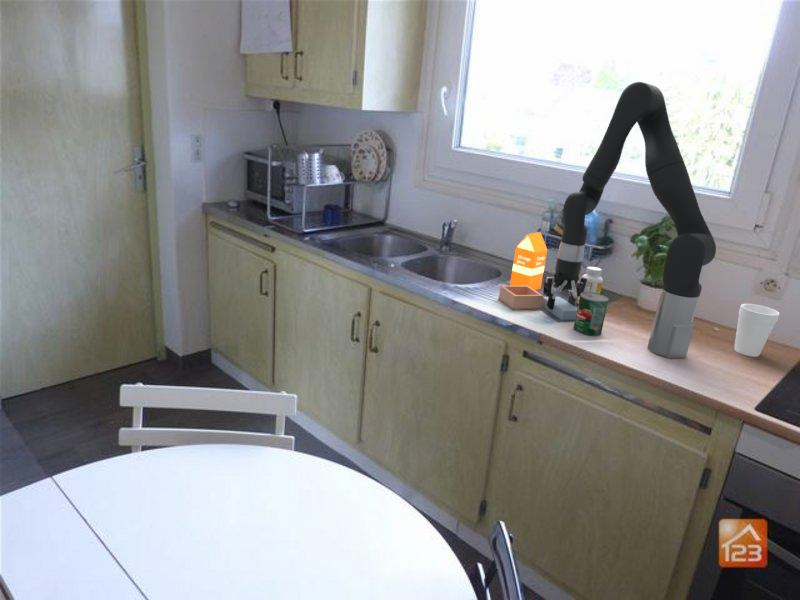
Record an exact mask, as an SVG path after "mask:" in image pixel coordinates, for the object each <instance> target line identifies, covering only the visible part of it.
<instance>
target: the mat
mask: <svg viewBox="0 0 800 600" xmlns="http://www.w3.org/2000/svg"><path fill="white" fill-rule="evenodd" d="M539 310H540V311H541V312H542V313H544V314H545V315H547V316H549V318H551V319H553V320H554V321H555V322H557V323H575V320H561V319H559V318H558V317H557V316H555V315H554V314H552V313H551V312H549V311H548V310H546V309H545V308H543V307H542V306H541V309H539Z"/></svg>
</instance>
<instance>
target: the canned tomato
mask: <svg viewBox="0 0 800 600" xmlns="http://www.w3.org/2000/svg"><path fill="white" fill-rule="evenodd" d="M609 300H610V299H609V298H608V296H606V295H604V294H601V293H600V294H598V293H593V292H582V293H581V294H580V299H579V304H578V303H577V304H578V305H577V308H578V309H577V314H576V319H575V322H574V325H573V330H574V331H575V332H576V333H578V334H581V335H585V336H588V337H589V336H590V337H599V336H601V334H602V331H603V328H604V327H603V326H604V322H605V319H606V318H605V317H606V313H607V308H608V303H609Z"/></svg>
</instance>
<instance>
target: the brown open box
mask: <svg viewBox="0 0 800 600" xmlns="http://www.w3.org/2000/svg"><path fill="white" fill-rule="evenodd" d="M499 287H500V288H499V294H498V300H499V301H500V302H502V303H503V304H504V305H505V306H507V307H508V308H509V309H510V310H512V311H526V310H527V311H528V310H529V311H530V310H539V309H541V305H542V300H543V297H544V294H541V293H540V292H538V290H534V289H532V288H531V287H529V286H510V285H500V286H499Z"/></svg>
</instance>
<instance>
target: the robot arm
mask: <svg viewBox="0 0 800 600" xmlns="http://www.w3.org/2000/svg"><path fill="white" fill-rule="evenodd" d="M665 101H666V100H665V97H664V94H663V92H662V91H661V89H660V88H658V86H656V85H654V84H649V83H647V82H645V81H644V82H643V81H636V82H632V83H630V84H629V85H627V86H626V87H625V88H624V90H623V91H622V92H621V94H620V96H619V98H618V101H617V104H616V105H615V108H614V110H613V114H612V116H611V119H610V122H609V123H608V127H607V129H606V130H605V133H604V135H603V138H602V140H601V143H600V144H599V146H598V148H597V149H596V152H595V153H594V156H593V158H592V159H591V160H590V162H589V164H588V166H587V168H586V169H585V172H584V173H583V175H582V182H583V183H582V185H581V187H580V189H579V191H576V192H571V194H569V195H568V196H567V197H566V199H565V201H564V204H563V211H562V215H563V219H562V220H563V230H562V233H561V240H560V244H559V247H558V250H557V251H558V252H557V258H556V262H555V267H554V268H555V269H554V270H555V273H554V274H553V276H548V275H546V276H544V280H543V281H544V282H543V292H542V293H543V294H542V295H545V297H548V302H547V307H548V308H549V309H550V310H553V308H554V304H555V297H558V294H560V293H561V291H564V290H567V291H568V294H569V296H568V299H567V302H569V303H570V304H572V305H574V306H575V304H576V300H577V299H578V297H579V296H580V294H581V293H582V292H584V289H585V286H586V282H587V279H586V278H584V277H582V276H583V275H580V274H581V272H582V271H581V270H582V265H583V260H584V256H585V255H584V254H585V247H586V241H587V235H588V227H587V226H586V225H585V223H586V216H587V215H589V214H591V213H592V212H593V211H594V210H596V208H597V206H598V204H599V203H600V201H601V199H602V195H603V193H604V190H605V187H606V185H607V184H608V182H609V181H610V179H611V178H612V176H613V174H614V172H615V171H616V169H617V167H618V165H619V162H620V160H621V156H622V154H623V148H624V146H625V142H626V141H627V138H628V136H629V134H630V132H631V131H632V129H633V128H634V126H635V125H636V124H638V127H639V129H640V131H641V134H642V138H643V141H644V148H645V150H644V153H645V154H644V155H645V157H644V158H645V159H644V162H645V163H644V164H645V165H644V166H645V171H646V175H647V179H648V181H649V184H650V186H651V189H652V192H653V193H654V195H655V198H656V199H657V201H659V203H660V204H661V206H662V207H663V209H664V210H665V211H666V212H667V214H668V215H669V216H670V218H671V220H672V223H673V225H674V227H675V231H676V234H677V236H675V237H674V238H673V239H672V240H671V242H670V244H669V246H668V249H667V251H666V256H665V260H664V266H663V271H662V287H661V288H662V289H661V291H660V296H659V299H658V304H657V308H656V311H655V316H654V318H653V323H652V328H651V330H650V331H651V332H650V335H649V339H648V343H647V349H648V350H649V351H651V352H652V353H654V354H657V355H660V356H663V357H666V358H667V359H676V358H677V359H678V358H679V359H680V358H687V355H688V352H689V349H690V343H691V341H692V337H693V334H694V331H695V330H694V329H695V328H696V327H695V324H694V323H693V321H694V318H695V314H696V311H697V307H698V303H699V300H700V296H701V292H702V287H703V286H702V284H701V283H700V277H701V272H702V268H703V267H704V266H706V265H708V264H710V263H711V262H712V261H713V260H714V258H715V256H716V253H717V245H716V241H715V239H714V237H713V234H712V233H711V231H710V228H709V227H708V224H707V222H706V220H705V219H704V216H703V214H702V212H701V210H700V206H699V202H698V200H697V196H696V192H695V190H694V187H693V185H692V182H691V179H690V176H689V172H688V169H687V166H686V164H685V160H684V158H683V156H682V152H681V151H680V148H679V145H678V142H677V140H676V137H675V135H674V133H673V130H672V127H671V122H670V120H669V114H668V111H667V105H666V102H665ZM579 275H580V276H579ZM575 307H576V306H575Z"/></svg>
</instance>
